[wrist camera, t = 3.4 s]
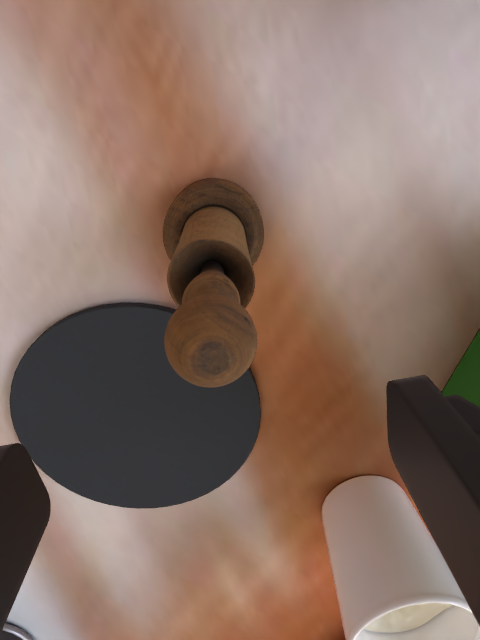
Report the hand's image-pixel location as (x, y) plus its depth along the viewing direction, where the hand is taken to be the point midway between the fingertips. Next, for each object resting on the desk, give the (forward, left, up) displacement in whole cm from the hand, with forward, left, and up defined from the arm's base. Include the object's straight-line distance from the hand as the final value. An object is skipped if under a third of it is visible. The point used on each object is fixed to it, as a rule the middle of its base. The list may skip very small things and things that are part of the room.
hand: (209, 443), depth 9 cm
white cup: (+9, -29, -22) cm, 37 cm away
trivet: (-9, -14, -22) cm, 27 cm away
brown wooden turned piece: (0, 0, -22) cm, 22 cm away
